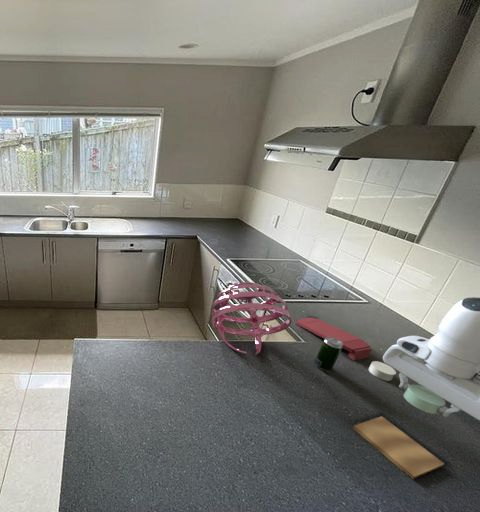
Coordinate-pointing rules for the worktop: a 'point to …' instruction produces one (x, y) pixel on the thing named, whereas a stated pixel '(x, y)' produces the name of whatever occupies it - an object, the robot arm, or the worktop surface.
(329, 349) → the beer can
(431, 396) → the mint green round lid
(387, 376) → the white round disc
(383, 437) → the oak board
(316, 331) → the red long block
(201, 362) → the worktop surface
